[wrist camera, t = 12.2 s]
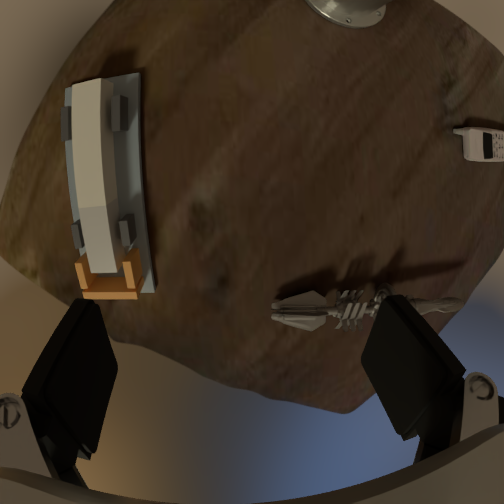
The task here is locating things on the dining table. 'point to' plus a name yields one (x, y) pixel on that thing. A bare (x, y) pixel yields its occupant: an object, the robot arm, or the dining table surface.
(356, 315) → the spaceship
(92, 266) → the long cream stick
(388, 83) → the dining table surface
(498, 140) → the mobile phone
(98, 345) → the robot arm
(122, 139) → the clip rail
